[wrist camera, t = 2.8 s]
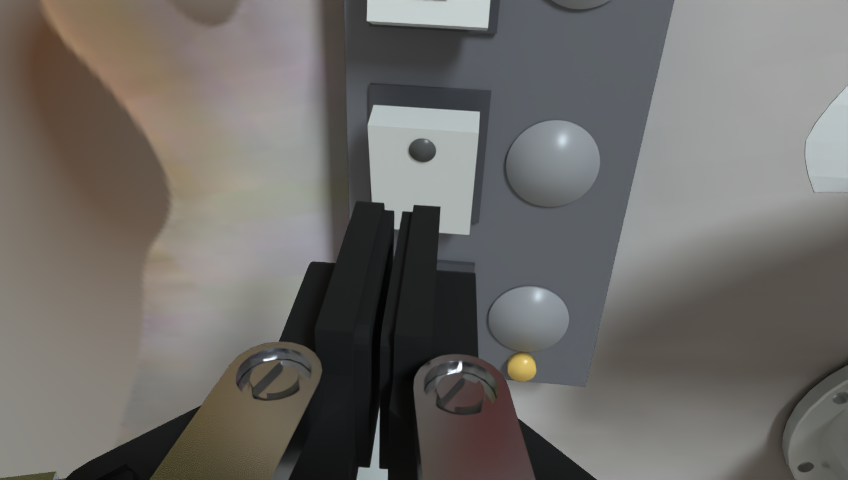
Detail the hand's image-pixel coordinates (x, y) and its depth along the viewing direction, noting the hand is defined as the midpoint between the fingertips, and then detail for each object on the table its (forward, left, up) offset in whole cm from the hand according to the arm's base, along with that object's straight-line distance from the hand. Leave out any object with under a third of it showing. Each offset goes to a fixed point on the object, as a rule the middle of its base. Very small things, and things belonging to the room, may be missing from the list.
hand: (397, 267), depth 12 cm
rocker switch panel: (-6, -2, -17) cm, 18 cm away
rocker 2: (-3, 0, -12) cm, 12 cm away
